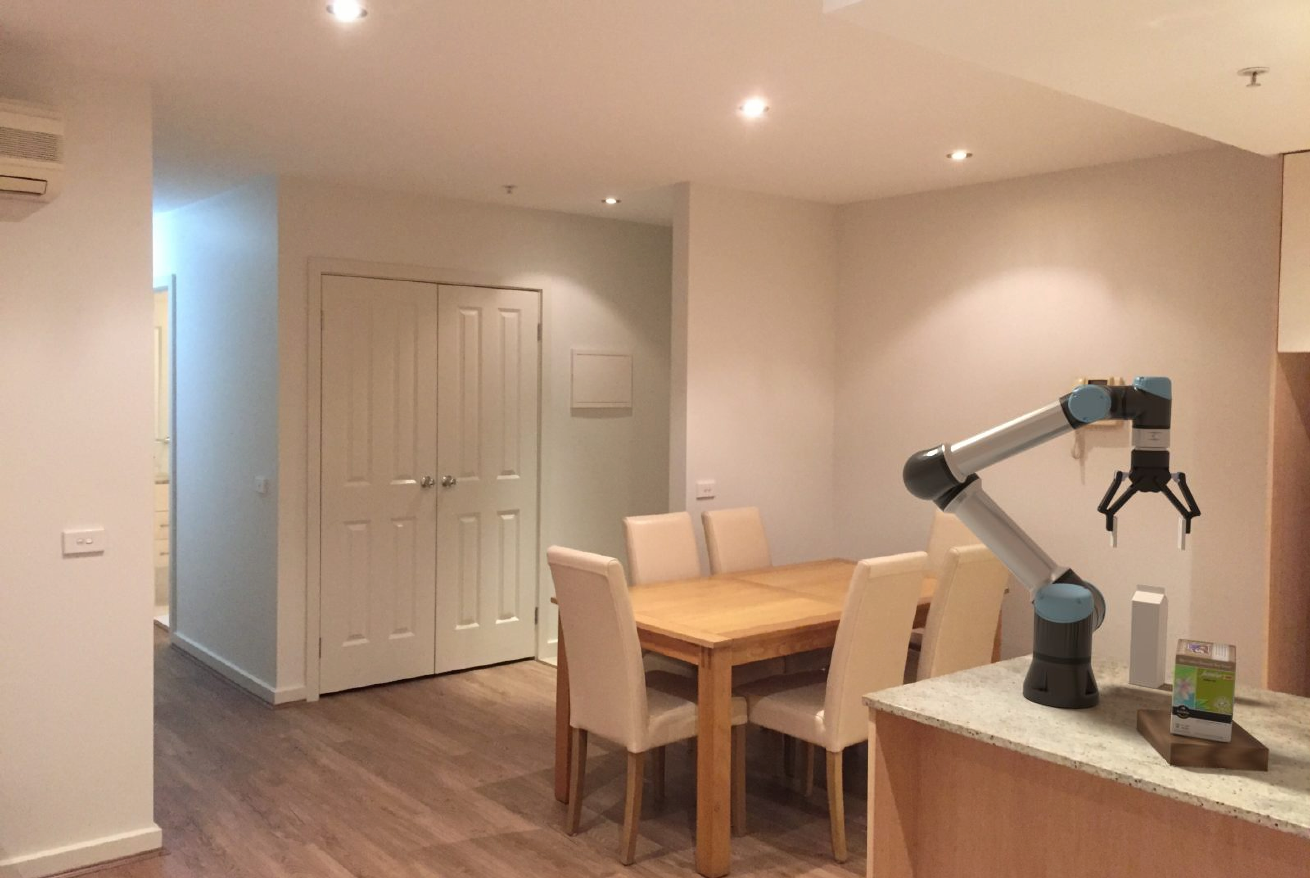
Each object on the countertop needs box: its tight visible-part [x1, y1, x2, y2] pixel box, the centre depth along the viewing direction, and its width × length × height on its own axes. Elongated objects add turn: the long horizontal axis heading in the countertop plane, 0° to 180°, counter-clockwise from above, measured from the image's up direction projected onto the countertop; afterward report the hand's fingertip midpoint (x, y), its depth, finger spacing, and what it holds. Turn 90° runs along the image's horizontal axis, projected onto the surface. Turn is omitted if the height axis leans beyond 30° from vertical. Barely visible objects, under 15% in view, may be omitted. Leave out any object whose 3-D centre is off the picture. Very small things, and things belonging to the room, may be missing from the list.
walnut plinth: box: [1136, 708, 1270, 773], centre depth 198 cm, size 16×20×4 cm
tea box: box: [1170, 638, 1237, 742], centre depth 198 cm, size 15×10×15 cm, turn 152°
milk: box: [1128, 583, 1169, 689], centre depth 242 cm, size 6×6×22 cm
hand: (1147, 548), depth 232 cm, fingers open, 13 cm apart
